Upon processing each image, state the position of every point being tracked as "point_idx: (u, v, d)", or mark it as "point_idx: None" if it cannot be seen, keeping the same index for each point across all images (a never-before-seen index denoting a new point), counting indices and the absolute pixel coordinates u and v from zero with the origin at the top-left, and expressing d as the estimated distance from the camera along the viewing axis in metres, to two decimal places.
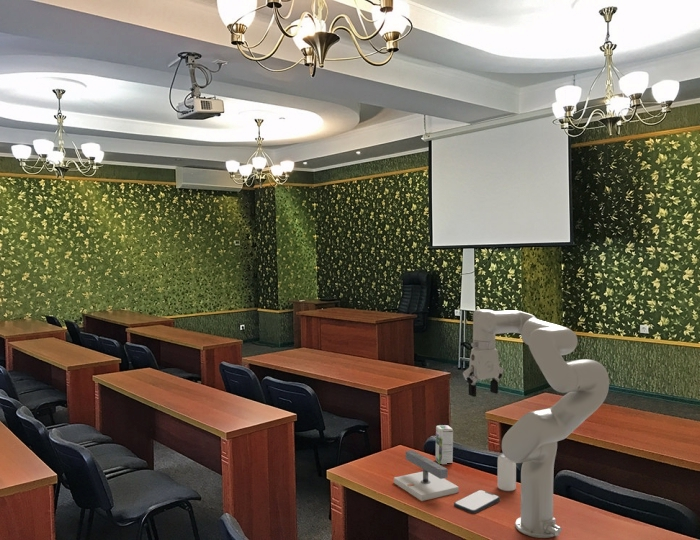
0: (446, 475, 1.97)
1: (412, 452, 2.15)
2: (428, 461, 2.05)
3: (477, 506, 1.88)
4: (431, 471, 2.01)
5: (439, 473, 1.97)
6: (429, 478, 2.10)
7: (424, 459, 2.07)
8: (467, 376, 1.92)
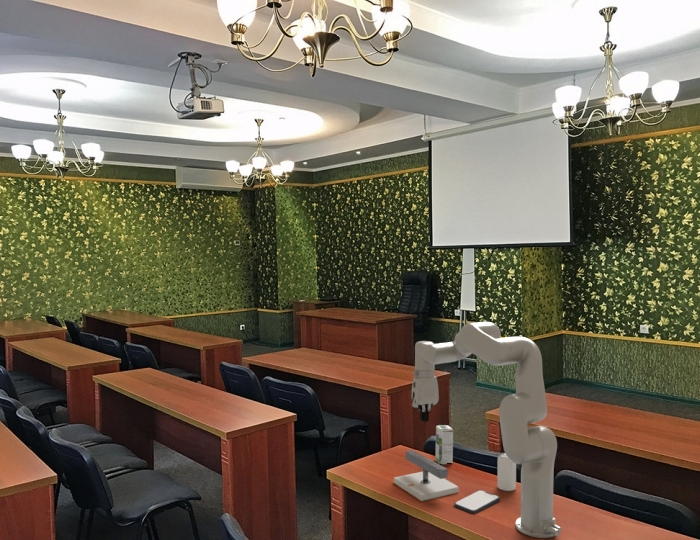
0: (446, 475, 1.97)
1: (412, 452, 2.15)
2: (428, 461, 2.05)
3: (477, 506, 1.88)
4: (431, 471, 2.01)
5: (439, 473, 1.97)
6: (429, 478, 2.10)
7: (424, 459, 2.07)
8: (417, 406, 2.16)
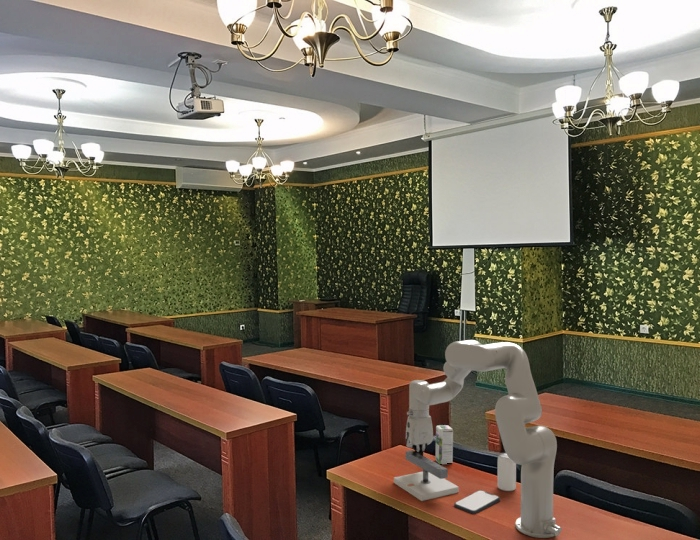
0: (446, 475, 1.97)
1: (412, 452, 2.15)
2: (428, 461, 2.05)
3: (477, 506, 1.88)
4: (431, 471, 2.01)
5: (439, 473, 1.97)
6: (429, 478, 2.10)
7: (424, 459, 2.07)
8: (411, 446, 2.15)
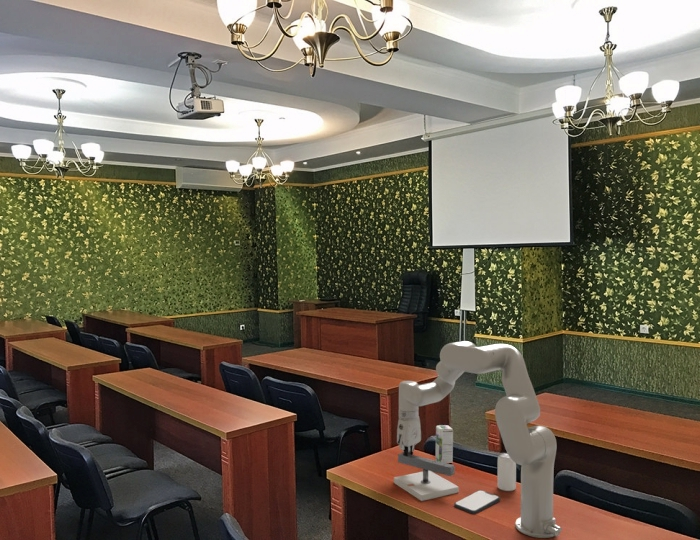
0: (454, 472, 2.00)
1: (405, 454, 2.12)
2: (430, 460, 2.05)
3: (477, 506, 1.88)
4: (437, 470, 2.02)
5: (448, 470, 1.99)
6: (429, 478, 2.10)
7: (424, 459, 2.06)
8: (404, 448, 2.12)
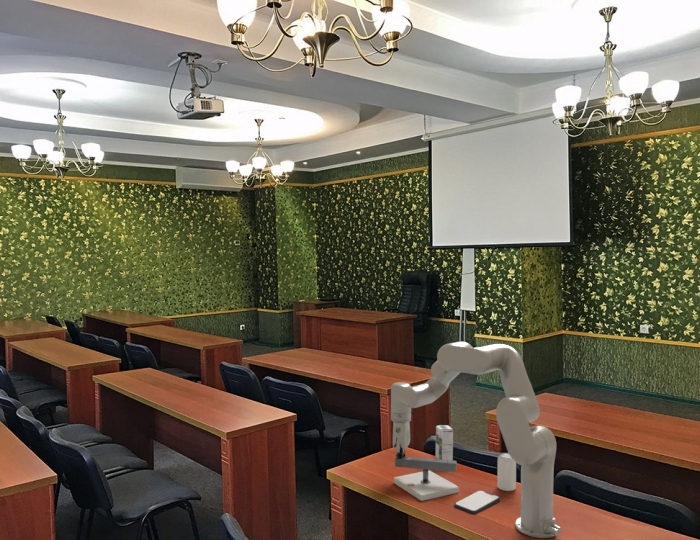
0: None
1: (401, 457, 2.09)
2: (430, 460, 2.06)
3: (477, 507, 1.88)
4: (441, 468, 2.04)
5: (454, 467, 2.02)
6: (429, 478, 2.10)
7: (424, 459, 2.06)
8: (400, 451, 2.09)
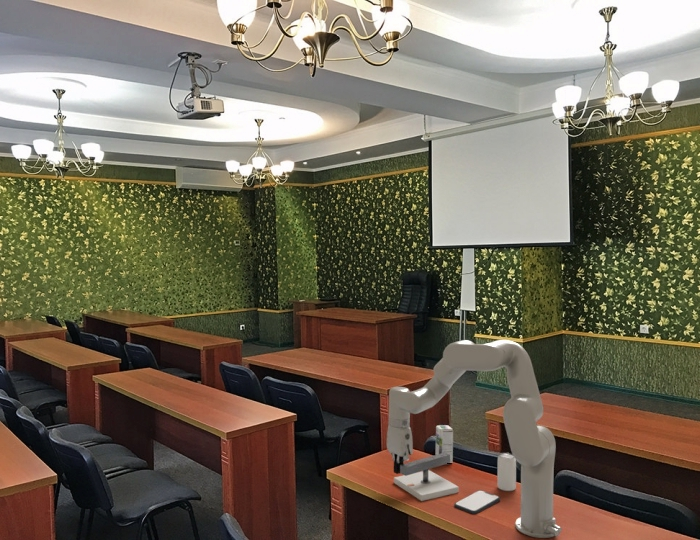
0: None
1: (406, 464, 2.01)
2: (429, 458, 2.07)
3: (477, 507, 1.88)
4: (439, 463, 2.09)
5: (448, 458, 2.11)
6: (429, 478, 2.10)
7: (425, 460, 2.06)
8: None
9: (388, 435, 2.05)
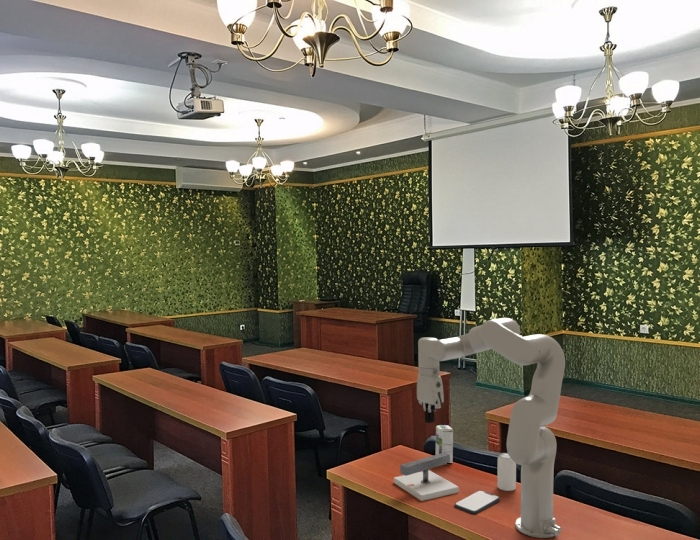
0: None
1: (406, 464, 2.01)
2: (429, 458, 2.07)
3: (478, 507, 1.88)
4: (439, 463, 2.09)
5: (448, 458, 2.11)
6: (429, 478, 2.10)
7: (425, 460, 2.06)
8: None
9: (418, 385, 2.07)
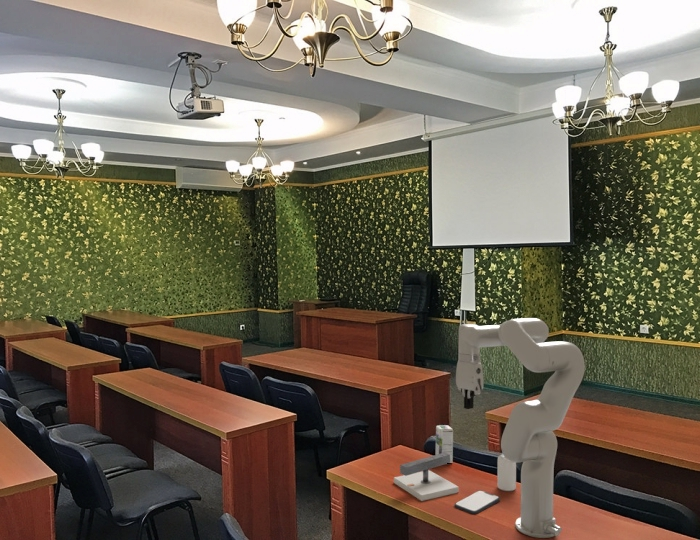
0: None
1: (406, 464, 2.01)
2: (429, 458, 2.07)
3: (478, 507, 1.88)
4: (439, 463, 2.09)
5: (448, 458, 2.11)
6: (429, 478, 2.10)
7: (425, 460, 2.06)
8: None
9: (457, 372, 2.08)
